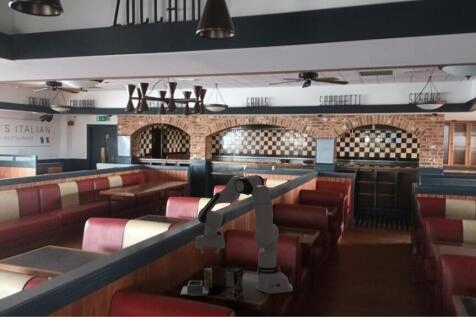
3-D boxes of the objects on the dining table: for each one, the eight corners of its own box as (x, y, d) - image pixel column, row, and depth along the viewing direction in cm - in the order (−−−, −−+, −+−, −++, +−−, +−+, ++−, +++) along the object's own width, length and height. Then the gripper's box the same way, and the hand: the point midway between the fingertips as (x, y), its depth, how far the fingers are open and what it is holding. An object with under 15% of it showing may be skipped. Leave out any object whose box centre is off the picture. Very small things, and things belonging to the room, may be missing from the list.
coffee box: (235, 300, 224) (235, 272, 224) (225, 298, 227) (225, 270, 227) (243, 295, 232) (243, 268, 231) (234, 293, 235) (233, 266, 235)
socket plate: (209, 288, 244) (209, 279, 244) (207, 295, 232) (207, 286, 232) (183, 288, 244) (183, 279, 244) (180, 295, 232) (180, 286, 232)
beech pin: (212, 285, 250) (211, 267, 250) (211, 287, 245) (211, 270, 245) (205, 285, 250) (204, 267, 250) (204, 287, 246) (204, 270, 245)
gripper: (195, 233, 267) (193, 251, 257) (225, 232, 267) (224, 250, 257) (195, 238, 272) (194, 256, 262) (225, 237, 271) (225, 255, 262)
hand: (209, 253), depth 260 cm, fingers open, 8 cm apart
